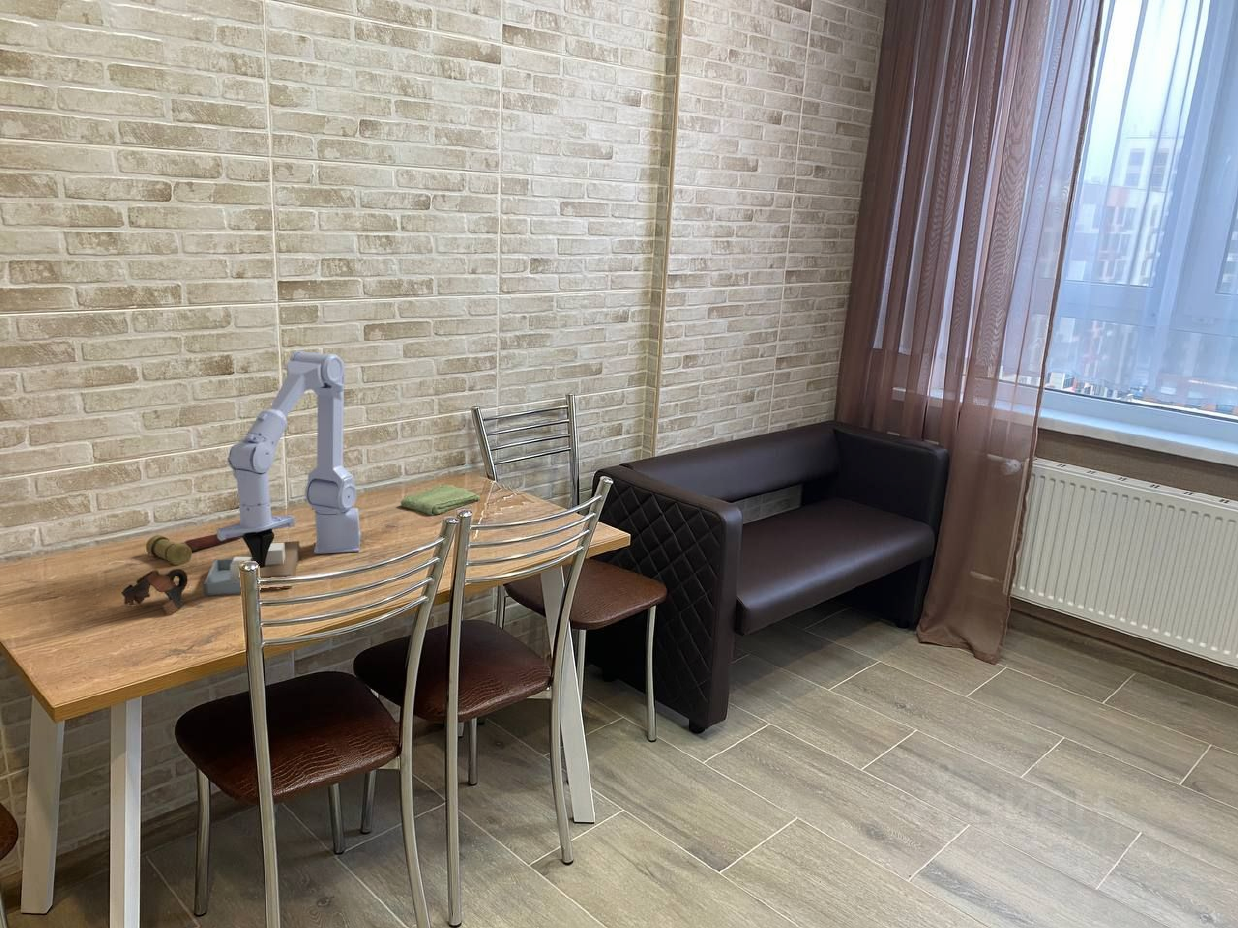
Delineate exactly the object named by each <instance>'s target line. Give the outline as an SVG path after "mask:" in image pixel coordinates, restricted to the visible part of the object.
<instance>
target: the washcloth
mask: <svg viewBox="0 0 1238 928" xmlns="http://www.w3.org/2000/svg"><path fill="white" fill-rule="evenodd" d="M479 500H481V496H480V495H478V494H476V493H474V492H472V491H469V490H467V489H465V488H463V487H455V486H454V485H452V484H445V485H437V486H434V487H432V488H430V489H427V490H424V491H421V492H417V493H413V494H410V495H407V496H404V497H403V498H402V499H401V500H400V505H401V506H402V507H404V508H407V509H410V510H413V511H417V512H421V513H422V514H426V515H428V516H437V515H441V514H445V513H447V512H449V511H453V510H455V509H458V508H460V507H464V506H465V505H469V504H471V503H475V502H477V501H479Z"/></svg>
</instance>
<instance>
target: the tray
mask: <svg viewBox="0 0 1238 928" xmlns="http://www.w3.org/2000/svg"><path fill="white" fill-rule="evenodd" d="M250 557H251V561H253V558H252V556H250ZM234 558H235V557H234ZM234 558H233V557H232V558H231V557H230V558H216V559H214V561H213V562H212V565H211V567H210V569H209V572H208V574H207V576H206V579H205V580H204V582H203V591H204V593H203V595H204V597H210V596H227V595H240V594H241V587H240V581H231V575H230V565H231V563H232V561H233V559H234Z"/></svg>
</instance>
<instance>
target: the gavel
mask: <svg viewBox="0 0 1238 928" xmlns="http://www.w3.org/2000/svg"><path fill="white" fill-rule="evenodd" d="M241 538H242V537H241V536H237V537H231V538H226V540H222V541H220V540H219V539H218V538H217V533H215V534H214V533H213V534H209V535H205V536H201V537H197V538H196V537H195V538H193V539H192V538H191V539H188V540H186V541H182V542H174V541H171V540H170V539H169V538H167V536H166V537H165V536H163V535H160V534H157V535H153V536H151V537H150V538H149V539H148V540H147V542H146V546H145V548H146V552H147V554H148V555H150V556H152V557H155V558H158V557H159V558H161V559H164V560H165V561H167V562H169V564H171V565H174V566H177V567H178V566H181V565H184V564H187V563H189V562H190V561H191V559H192V556H193V552H195V551H200V550H202V549H206V548H213V547H215V546H220V545H223V544H228V543H230V542H231V543H232V542H234V541H235V542H236V541H238V540H240V539H241ZM242 539H243V538H242Z"/></svg>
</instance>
